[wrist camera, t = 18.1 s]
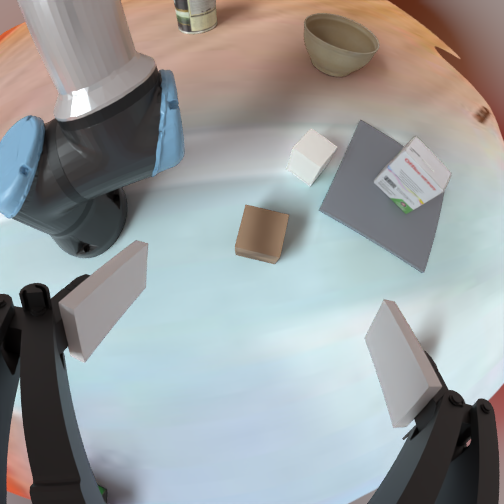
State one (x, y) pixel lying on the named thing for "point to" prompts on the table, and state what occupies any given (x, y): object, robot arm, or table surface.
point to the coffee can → (196, 15)
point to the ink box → (413, 176)
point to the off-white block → (310, 156)
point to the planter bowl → (338, 44)
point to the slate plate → (379, 200)
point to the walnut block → (261, 234)
